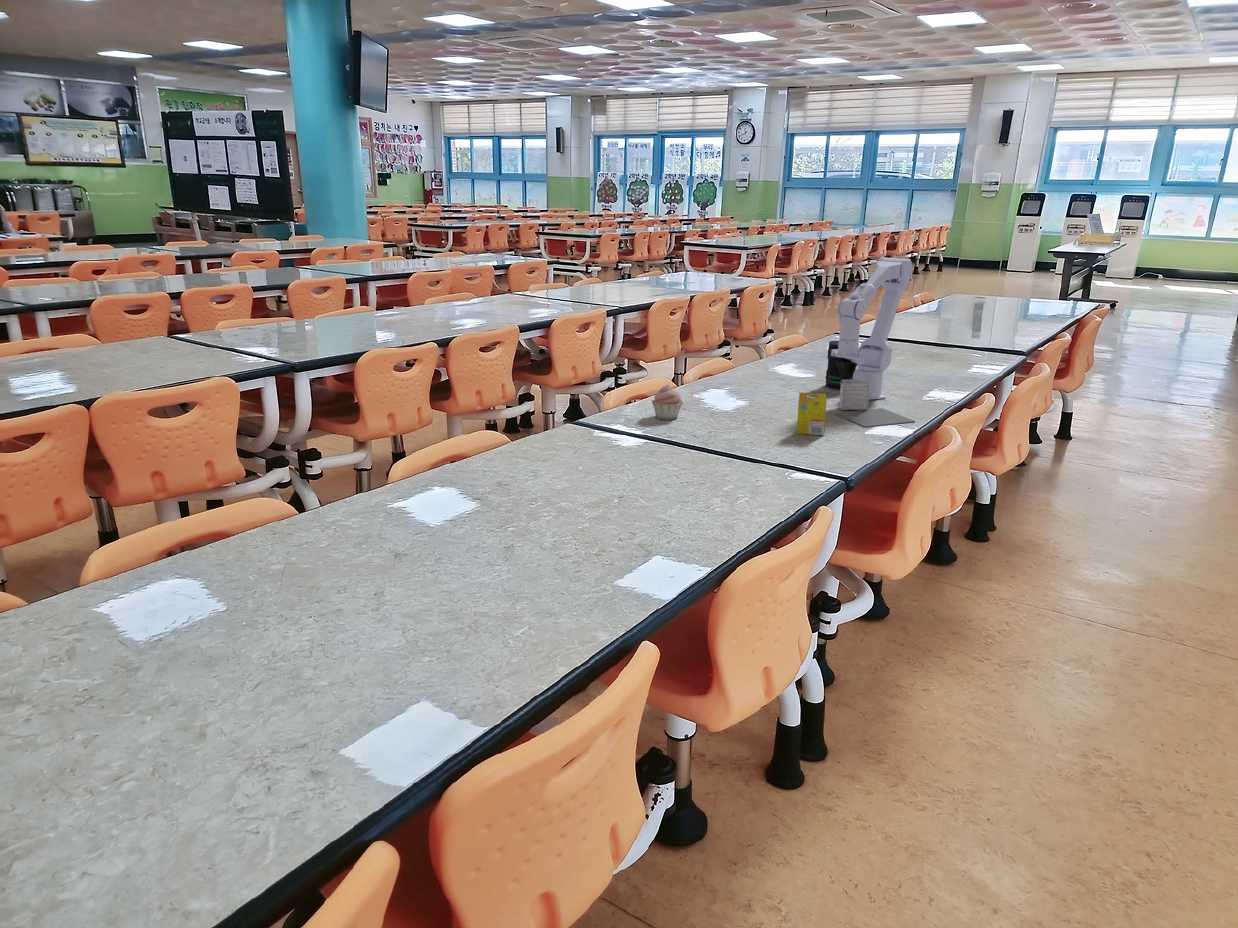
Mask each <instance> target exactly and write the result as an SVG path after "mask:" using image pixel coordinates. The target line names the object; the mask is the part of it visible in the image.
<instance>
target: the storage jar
mask: <svg viewBox="0 0 1238 928" xmlns="http://www.w3.org/2000/svg"><path fill="white" fill-rule="evenodd" d="M859 344H860V343H859V342H858V347H860V346H859ZM838 347H839V339H837V340H831V341H828V349H827V356H826V357H827V368H826V370H825V371H826V372H825V385H824V386H825V388H827V389H830V390H835V391H836V390H837V391H840V388H841V380H840V374H839V370H838V367H837V365H836V363H835V360H839V359H840V358H839V357H836V356H831V351H832V350H833V349H838ZM856 369H857V367H856V368H855V370H856ZM855 370H854V372H855ZM854 372H853V374H854ZM853 374H852V376H851V379H850V380H853Z"/></svg>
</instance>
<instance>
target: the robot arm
mask: <svg viewBox="0 0 1238 928" xmlns="http://www.w3.org/2000/svg"><path fill="white" fill-rule="evenodd" d="M913 271H914V270H913V262H912V260H911V259H910V258H896V257H885V256H881V257H879V258H878V260H877V261H876V262H875V268H874V272H873V273H872V274H871V276H870V277H869V279H868V280H867V282H863V283H860V285H859V286H858V287H856V289H855V290H854V291H853V292H852V293H851V294H850V295H849V297H848V298H846V297H845V298H844V299H842V300H841V301H840V302H839V303H838V304H839V305H838V307H837V315H838V323H839V337H838V340H839V347H838V349H833V350H832V351H831V356H836V357H839V358H840V359H839V360H835V363H836V365H837V367H838V370H839V374H840V380H850V379H851V376H852V374H853V372H854V370H855V368H856V370H855V372H854V374H853V380H868V381H869V383H870V386H869V400H879V399H887V396H886V395H883V394H882V388H883V377H884V371H886V370H887V369H888V368H889V366H890V364H891V361H892V354H893V348H892V346H891V345H890V344H889V342H887V341H888V338H889V335H890V332H891V328H892V326H893V323H894V320H895V316H896V314H897V311H898V308H899V306H900V305H899V304H900V302H901V299H902V296H903V294H904V293H903V292H904V290H905V289H907V288H908V286H909V284H910V282H911V281H910V280H911V278H912V276H913V275H912V274H913ZM880 287H883V288H884V289H885V292H884V295H883V299H882V302H881V304H880V307H879V310H878V314H877V316H876V319H875V322H874V324H873V328H872V331H871V335H870V337H868V338H866V339H865V340H862V341H861V342H860V346H858V343H859V341H860V340H859V339H860V330H861V329H860V328H861V320H862V319H863V318H864V317H865V314H866V311H867V310H868V305H869V304H870V303H871V302H872V301H873V299H874V298H875V297H876V294H877V292H876V290H878V288H880ZM869 400H868V401H869Z"/></svg>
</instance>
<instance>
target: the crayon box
mask: <svg viewBox="0 0 1238 928" xmlns="http://www.w3.org/2000/svg"><path fill="white" fill-rule="evenodd" d="M798 393H799V395H798V408H797V425H796V434H798V435H815V436H824V435H825V431H826V430H825V429H826V417H827V416H826V413H827V393H815V392H798ZM808 396H814V397H808Z"/></svg>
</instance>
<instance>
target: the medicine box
mask: <svg viewBox="0 0 1238 928" xmlns="http://www.w3.org/2000/svg"><path fill="white" fill-rule="evenodd" d="M869 386H870V383H869V381H868V380H841V388H840V390H839V391H840V392H839V408H840V410H841V411H858V410H868V409H869Z"/></svg>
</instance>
